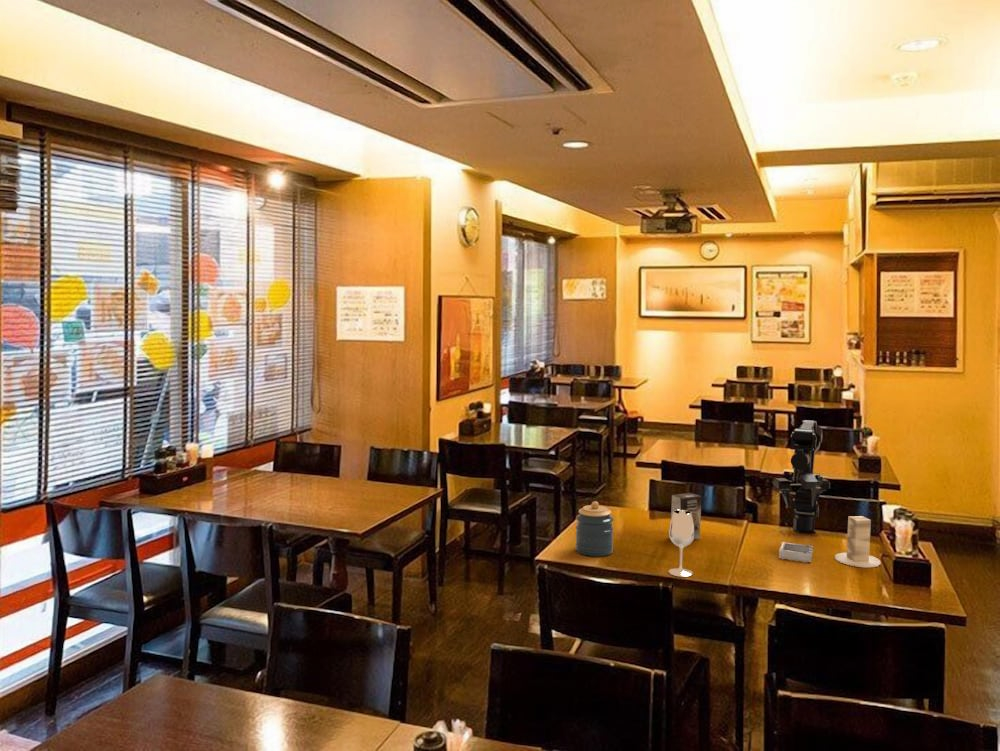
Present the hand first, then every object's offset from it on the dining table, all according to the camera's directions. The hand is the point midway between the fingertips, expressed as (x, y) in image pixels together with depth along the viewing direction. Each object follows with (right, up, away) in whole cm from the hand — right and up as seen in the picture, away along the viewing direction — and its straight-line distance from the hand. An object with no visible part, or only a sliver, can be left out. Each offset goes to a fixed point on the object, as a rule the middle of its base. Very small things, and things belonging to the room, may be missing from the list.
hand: (800, 506), depth 287 cm
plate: (+12, -15, -19) cm, 27 cm away
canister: (-76, -14, -10) cm, 78 cm away
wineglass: (-50, -16, -32) cm, 62 cm away
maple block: (+12, -14, -19) cm, 27 cm away
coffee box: (-40, -13, +5) cm, 43 cm away
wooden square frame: (-7, -14, -15) cm, 22 cm away
